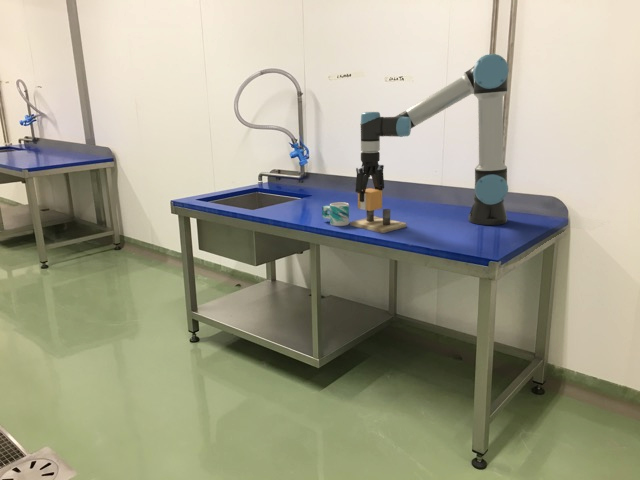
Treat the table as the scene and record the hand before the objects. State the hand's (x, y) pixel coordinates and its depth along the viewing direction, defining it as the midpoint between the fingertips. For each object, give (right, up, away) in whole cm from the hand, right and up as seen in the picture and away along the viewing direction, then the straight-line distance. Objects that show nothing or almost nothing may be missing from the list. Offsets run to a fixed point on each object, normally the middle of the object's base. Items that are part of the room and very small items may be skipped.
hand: (370, 207), depth 219 cm
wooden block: (0, 0, 0) cm, 0 cm away
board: (+3, -8, -1) cm, 8 cm away
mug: (-14, -6, +6) cm, 16 cm away
